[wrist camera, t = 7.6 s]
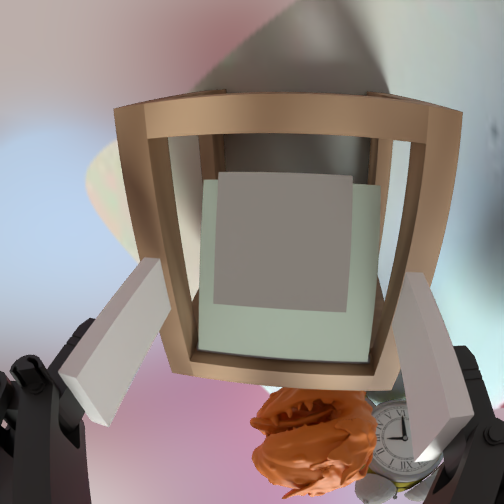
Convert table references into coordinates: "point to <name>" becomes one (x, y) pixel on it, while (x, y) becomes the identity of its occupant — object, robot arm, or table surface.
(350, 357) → the hatch
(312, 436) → the orange sculpture
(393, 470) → the alarm clock
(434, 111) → the frame
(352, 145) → the table surface
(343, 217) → the grey block
